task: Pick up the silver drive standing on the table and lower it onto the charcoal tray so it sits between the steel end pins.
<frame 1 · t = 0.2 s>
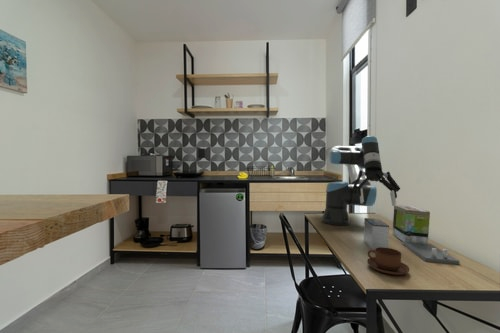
hand: (378, 203, 116), 16 cm above the table, tool tilted 30°, fingers open, 13 cm apart
tea box: (409, 239, 119), on the table
cup and saucer: (387, 270, 83), on the table
pin tray: (428, 253, 101), on the table
drive: (375, 245, 108), on the table
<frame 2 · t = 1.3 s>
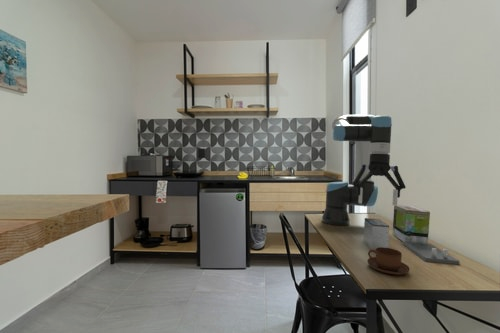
hand: (377, 204, 108), 17 cm above the table, tool pointing down, fingers open, 13 cm apart
nothing on the table moved.
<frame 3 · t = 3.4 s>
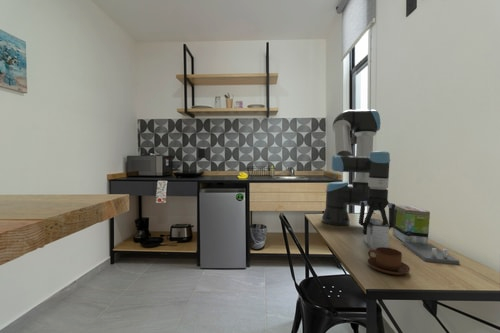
hand: (375, 242, 108), 1 cm above the table, tool pointing down, fingers closed on drive, 6 cm apart
drive: (375, 245, 108), on the table, touching gripper
everything else where it was.
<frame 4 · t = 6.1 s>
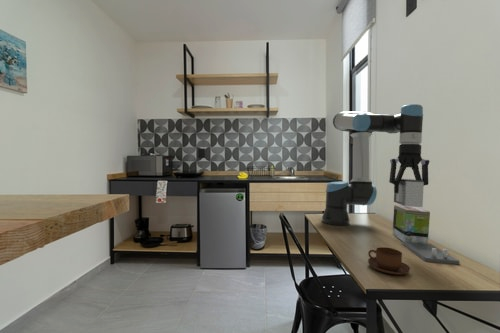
hand: (407, 201, 103), 19 cm above the table, tool pointing down, fingers closed on drive, 6 cm apart
drive: (407, 204, 103), point 18 cm above the table, touching gripper
everything else where it was.
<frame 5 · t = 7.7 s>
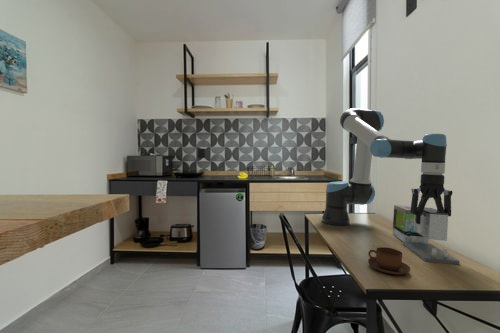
hand: (429, 232, 100), 8 cm above the table, tool pointing down, fingers closed on drive, 6 cm apart
drive: (429, 235, 100), point 7 cm above the table, touching gripper
everything else where it was.
when the fingers open (3 cm above the table, at t = 9.1 s): drive stays where it is, resting on pin tray.
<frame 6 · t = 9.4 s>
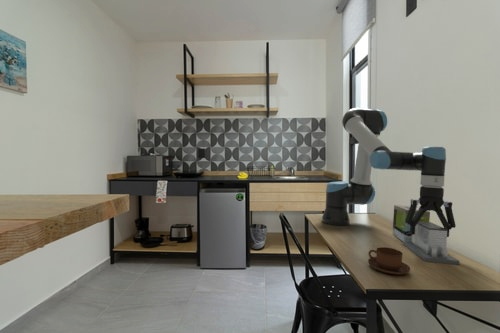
hand: (428, 243, 100), 4 cm above the table, tool pointing down, fingers open, 9 cm apart
drive: (428, 250, 101), point 1 cm above the table, touching pin tray
everything else where it was.
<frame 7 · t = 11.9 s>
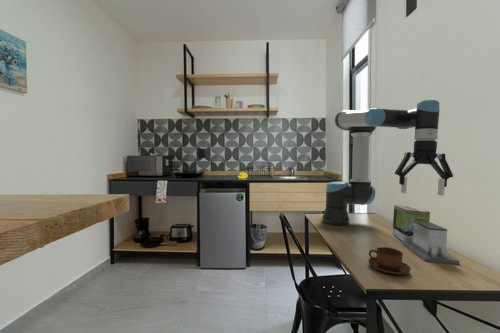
hand: (421, 194, 102), 23 cm above the table, tool pointing down, fingers open, 13 cm apart
nothing on the table moved.
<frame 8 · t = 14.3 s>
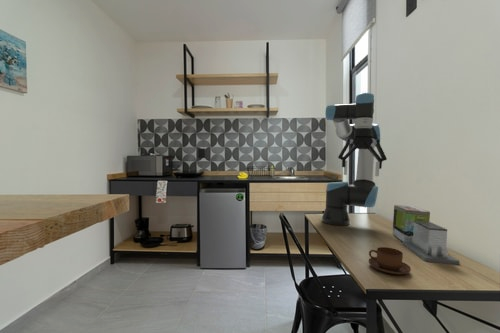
hand: (360, 175, 116), 29 cm above the table, tool pointing down, fingers open, 13 cm apart
nothing on the table moved.
at the end: drive 0.0 cm off-centre on the pin tray, point 1.2 cm above the pin tray's base; drive tilted 0°; the gripper is holding nothing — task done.
